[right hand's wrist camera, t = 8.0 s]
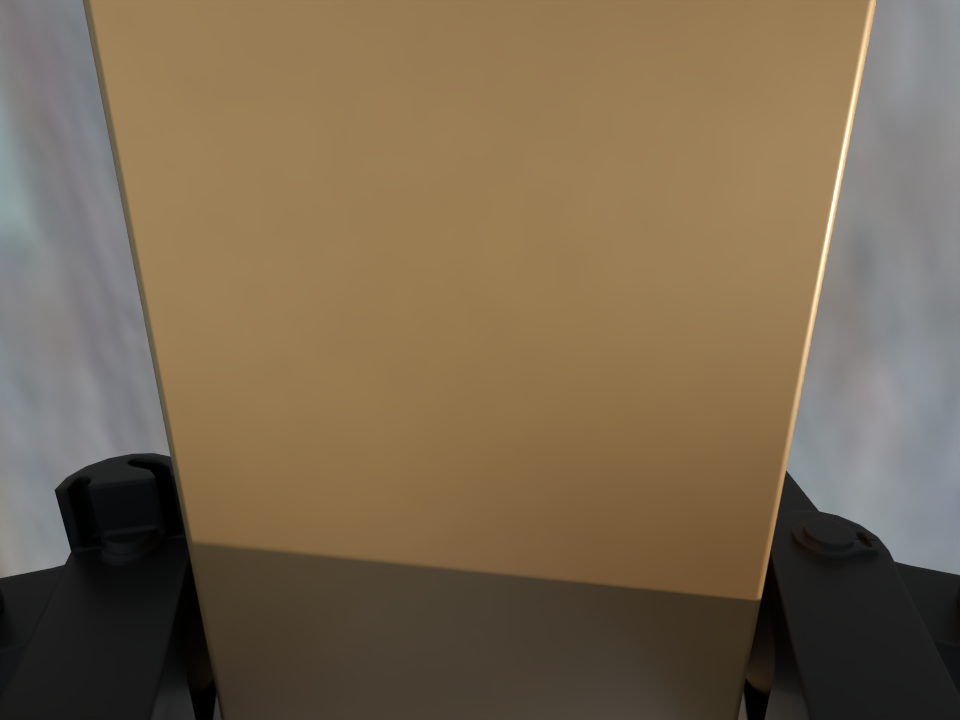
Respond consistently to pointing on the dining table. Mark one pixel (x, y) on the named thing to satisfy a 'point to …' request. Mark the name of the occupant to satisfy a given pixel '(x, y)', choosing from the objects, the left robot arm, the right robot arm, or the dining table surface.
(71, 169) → the dining table surface
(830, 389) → the dining table surface
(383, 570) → the bar
